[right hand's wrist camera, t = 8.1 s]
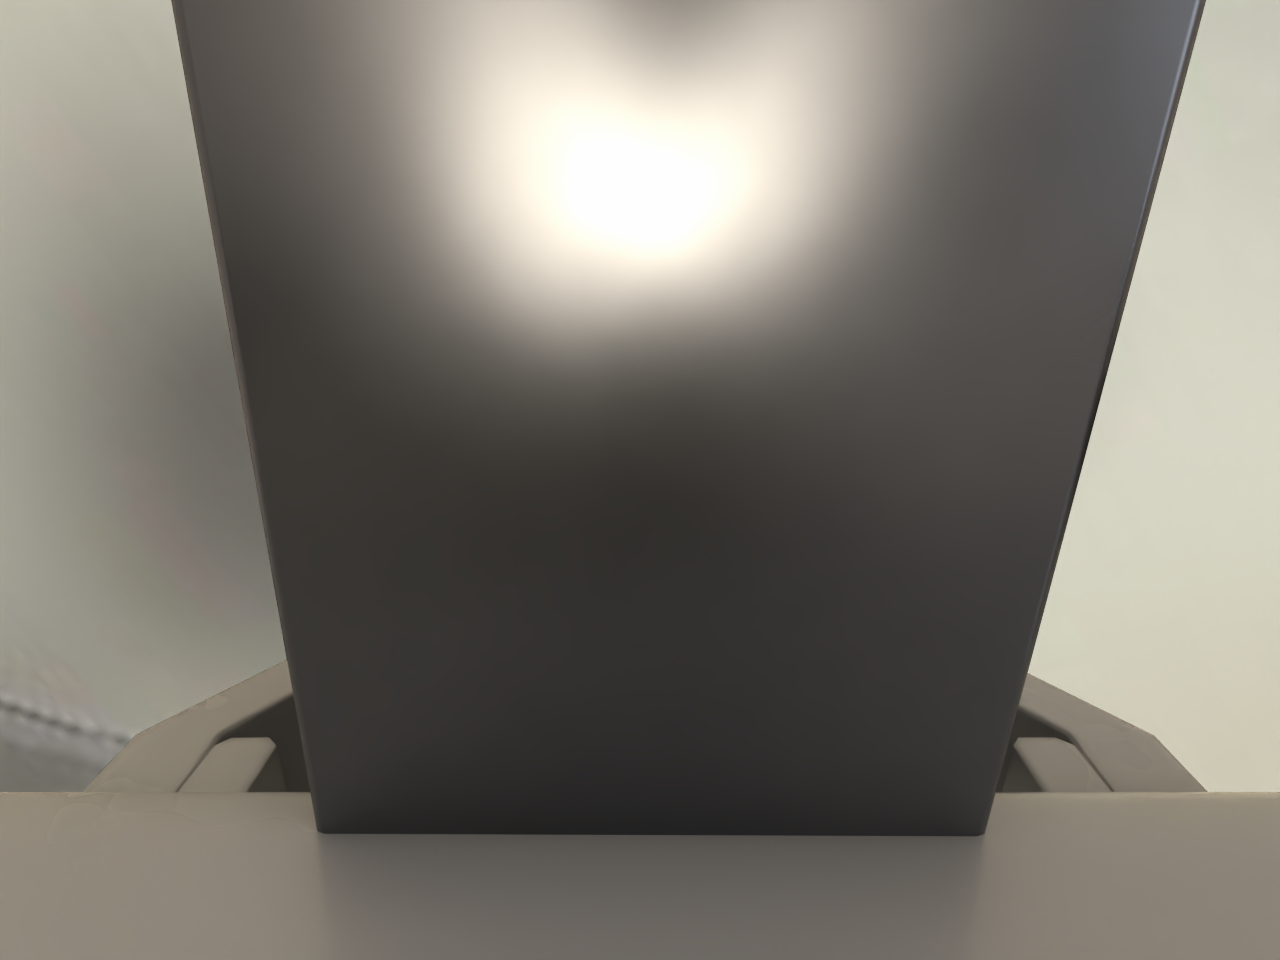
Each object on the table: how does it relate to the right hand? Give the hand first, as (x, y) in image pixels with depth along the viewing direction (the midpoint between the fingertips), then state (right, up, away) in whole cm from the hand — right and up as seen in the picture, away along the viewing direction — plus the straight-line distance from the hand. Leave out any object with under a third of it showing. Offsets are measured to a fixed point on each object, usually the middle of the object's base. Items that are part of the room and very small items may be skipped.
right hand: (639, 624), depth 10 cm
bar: (0, +11, 0) cm, 11 cm away
